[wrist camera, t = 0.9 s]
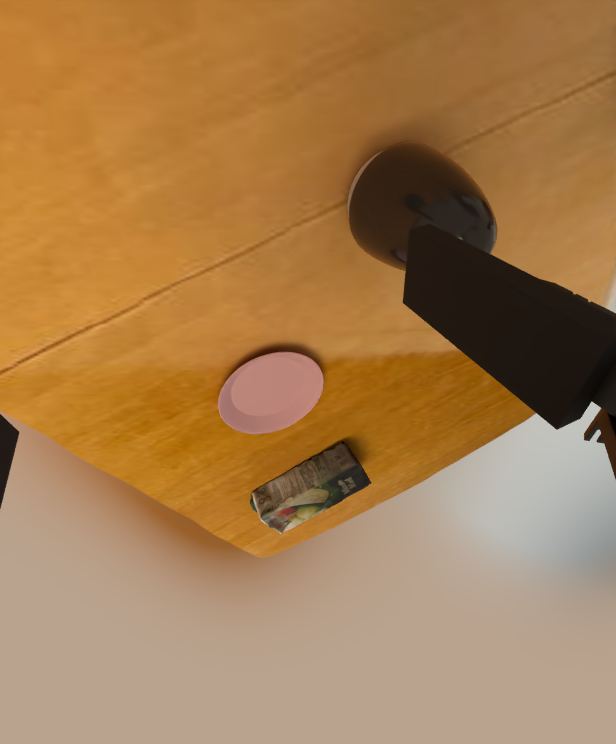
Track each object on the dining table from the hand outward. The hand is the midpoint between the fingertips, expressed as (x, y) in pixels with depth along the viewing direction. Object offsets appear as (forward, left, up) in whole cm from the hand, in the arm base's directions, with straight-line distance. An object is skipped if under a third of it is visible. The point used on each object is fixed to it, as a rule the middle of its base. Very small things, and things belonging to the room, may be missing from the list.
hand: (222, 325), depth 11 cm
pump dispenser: (-19, +7, -25) cm, 33 cm away
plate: (-3, +28, -25) cm, 38 cm away
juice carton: (-5, +53, -25) cm, 59 cm away
